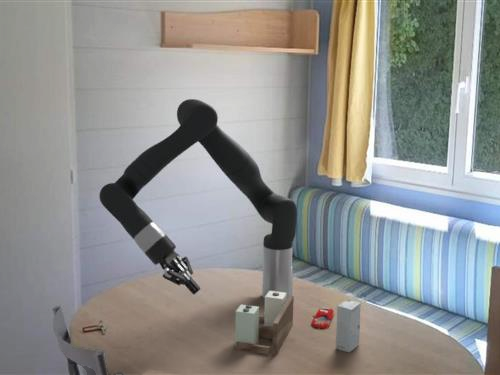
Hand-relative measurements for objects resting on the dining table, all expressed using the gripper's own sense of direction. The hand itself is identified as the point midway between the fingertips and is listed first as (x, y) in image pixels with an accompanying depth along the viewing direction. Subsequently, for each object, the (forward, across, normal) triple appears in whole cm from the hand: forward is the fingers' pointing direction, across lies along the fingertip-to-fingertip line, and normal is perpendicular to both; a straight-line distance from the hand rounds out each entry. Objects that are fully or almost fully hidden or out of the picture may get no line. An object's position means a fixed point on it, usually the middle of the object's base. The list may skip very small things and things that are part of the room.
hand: (197, 291), depth 169 cm
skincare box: (+38, +10, -18) cm, 43 cm away
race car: (+32, +22, -11) cm, 40 cm away
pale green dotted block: (+19, 0, -1) cm, 19 cm away
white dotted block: (+22, +12, -4) cm, 26 cm away
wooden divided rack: (+21, +6, -1) cm, 22 cm away
